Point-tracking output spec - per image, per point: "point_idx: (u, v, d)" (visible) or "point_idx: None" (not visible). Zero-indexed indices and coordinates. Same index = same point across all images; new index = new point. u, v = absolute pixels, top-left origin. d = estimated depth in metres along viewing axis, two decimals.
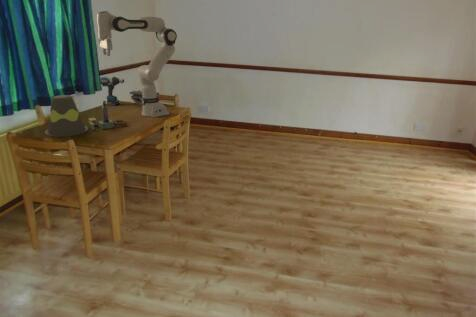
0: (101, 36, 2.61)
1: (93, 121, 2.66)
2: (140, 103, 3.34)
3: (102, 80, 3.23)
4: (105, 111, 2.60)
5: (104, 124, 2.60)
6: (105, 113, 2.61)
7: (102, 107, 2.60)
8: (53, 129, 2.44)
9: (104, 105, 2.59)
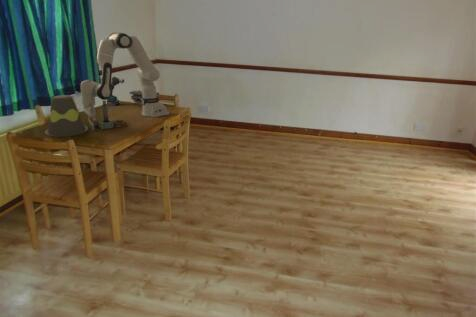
0: (85, 104, 2.65)
1: (93, 121, 2.65)
2: (140, 103, 3.34)
3: None
4: (105, 111, 2.60)
5: (104, 124, 2.60)
6: (105, 113, 2.61)
7: (102, 107, 2.60)
8: (53, 129, 2.44)
9: (104, 105, 2.59)
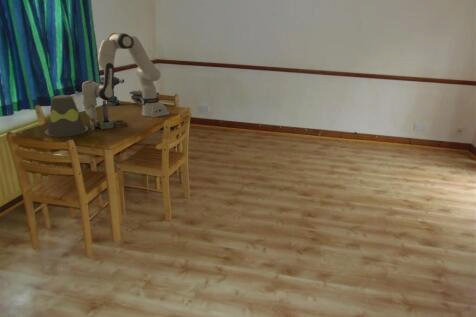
0: (86, 105, 2.62)
1: (95, 122, 2.62)
2: (140, 103, 3.34)
3: (102, 80, 3.23)
4: (105, 111, 2.60)
5: (104, 124, 2.60)
6: (105, 113, 2.61)
7: (102, 107, 2.60)
8: (53, 129, 2.44)
9: (104, 105, 2.59)
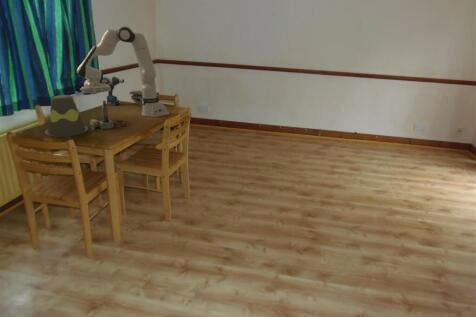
0: None
1: (95, 122, 2.62)
2: (140, 103, 3.34)
3: (102, 80, 3.23)
4: (105, 111, 2.60)
5: (104, 124, 2.60)
6: (105, 113, 2.61)
7: (102, 107, 2.60)
8: (53, 129, 2.44)
9: (104, 105, 2.59)
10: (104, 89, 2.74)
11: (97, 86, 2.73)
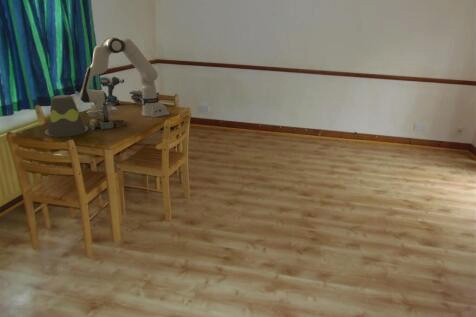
0: None
1: (95, 122, 2.62)
2: (140, 103, 3.34)
3: (102, 80, 3.23)
4: (105, 111, 2.60)
5: (104, 124, 2.60)
6: (105, 113, 2.61)
7: (102, 107, 2.60)
8: (53, 129, 2.44)
9: (104, 105, 2.59)
10: (111, 112, 2.69)
11: None
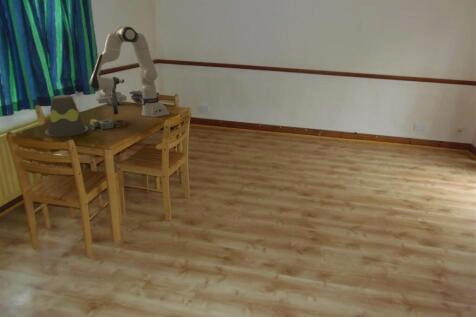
0: None
1: (95, 122, 2.62)
2: (140, 103, 3.34)
3: None
4: (114, 98, 2.61)
5: (104, 124, 2.60)
6: (114, 100, 2.61)
7: None
8: (53, 129, 2.44)
9: (113, 92, 2.60)
10: (120, 99, 2.69)
11: None
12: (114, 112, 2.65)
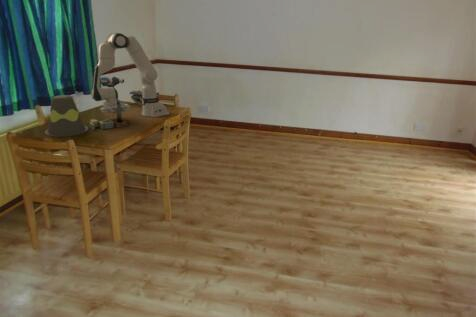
0: None
1: (95, 122, 2.62)
2: (140, 103, 3.34)
3: (102, 80, 3.23)
4: (119, 109, 2.65)
5: (104, 124, 2.60)
6: (119, 111, 2.66)
7: (116, 106, 2.65)
8: (53, 129, 2.44)
9: (118, 104, 2.64)
10: None
11: None
12: None
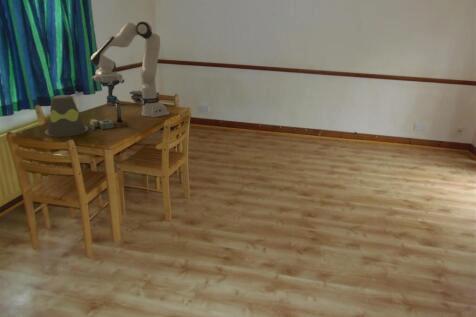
0: None
1: (95, 122, 2.62)
2: (140, 103, 3.34)
3: None
4: (118, 110, 2.65)
5: (104, 124, 2.60)
6: (118, 112, 2.66)
7: None
8: (53, 129, 2.44)
9: (117, 104, 2.64)
10: (116, 77, 2.76)
11: (109, 74, 2.75)
12: None
